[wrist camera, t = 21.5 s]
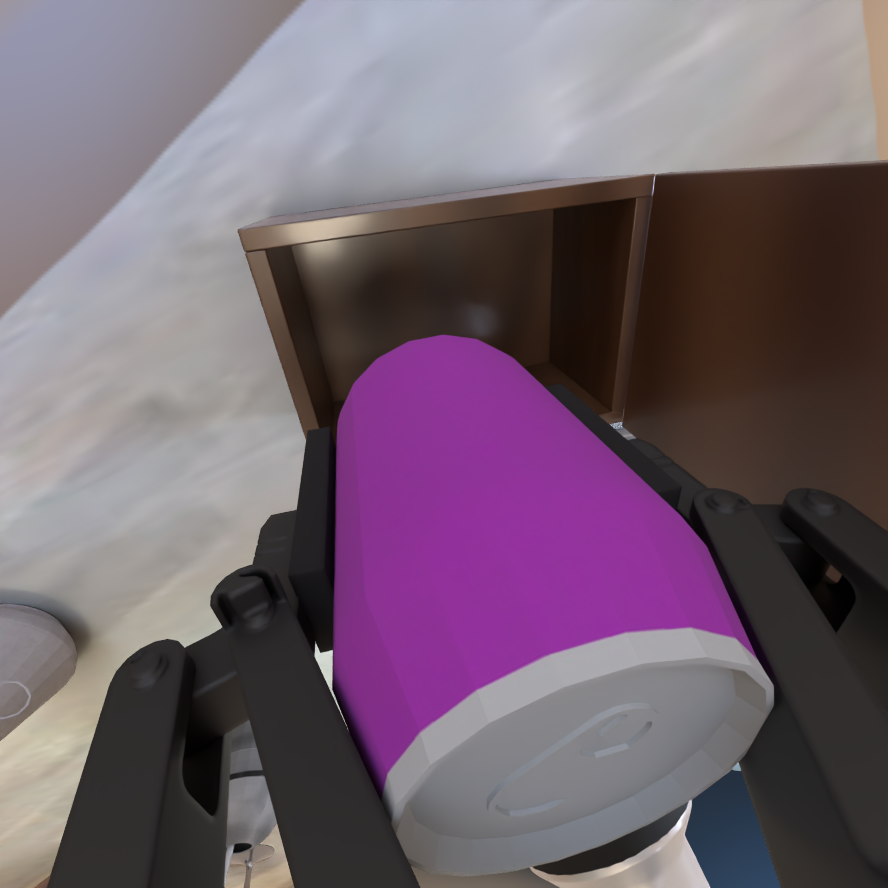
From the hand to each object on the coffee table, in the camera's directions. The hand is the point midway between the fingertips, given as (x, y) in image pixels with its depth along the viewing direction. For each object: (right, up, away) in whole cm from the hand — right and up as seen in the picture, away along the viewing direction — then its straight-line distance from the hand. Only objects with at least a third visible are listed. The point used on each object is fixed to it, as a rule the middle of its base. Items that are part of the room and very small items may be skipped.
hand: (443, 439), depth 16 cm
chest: (-1, +10, +16) cm, 19 cm away
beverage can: (0, +1, +1) cm, 1 cm away
